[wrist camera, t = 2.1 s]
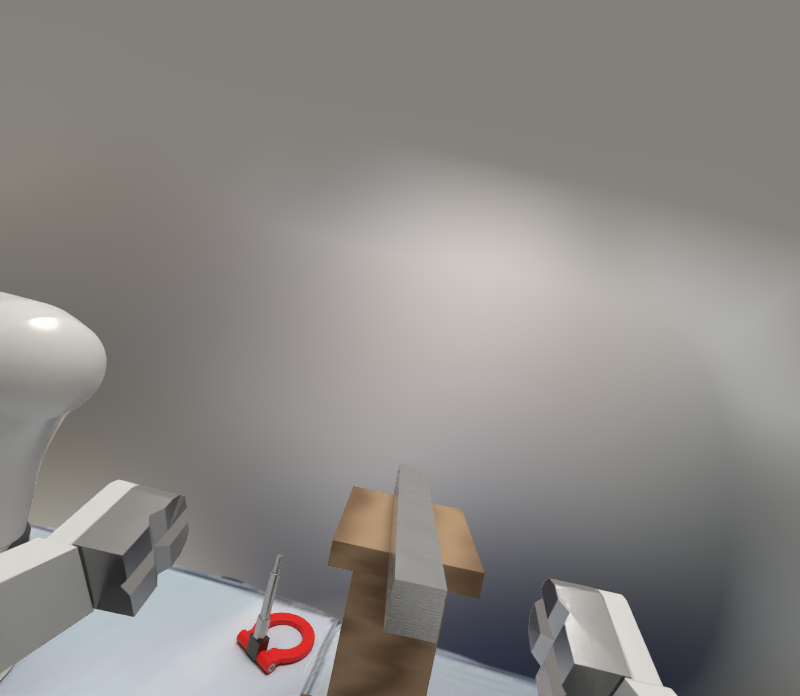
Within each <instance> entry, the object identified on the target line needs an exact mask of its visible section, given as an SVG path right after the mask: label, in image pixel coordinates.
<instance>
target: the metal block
mask: <svg viewBox="0 0 800 696" xmlns="http://www.w3.org/2000/svg"><path fill="white" fill-rule="evenodd" d="M446 595H447V585H446V580H445V574H444V568H443V563H442V557H441V551H440V546H439V540H438V534H437V529H436V523H435V517H434V512H433V506H432V501H431V495H430V490H429V483H428V478H427V472H426V470H425V469H421V468H417V467H412V466H407V465H402V464H400V466H399V470H398V475H397V480H396V485H395V490H394V502H393V515H392V528H391V541H390V554H389V567H388V580H387V593H386V606H385V619H384V632H387V633H392V634H396V635H401V636H405V637H410V638H414V639H419V640H423V641H428V642H433V643H437V638H438V633H439V628H440V623H441V619H442V614H443V609H444V604H445V600H446Z"/></svg>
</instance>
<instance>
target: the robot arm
mask: <svg viewBox="0 0 800 696" xmlns="http://www.w3.org/2000/svg"><path fill="white" fill-rule="evenodd" d="M105 370H106V354H105V350H104V347H103V345H102V343H101V341H100V340H99V339H98V337H97V336H96V335H95V334H94V333H93V332H92V331H91V330H90V329H89V328H87V327H86V326H85V325H84V324H82V323H81V322H80V321H78V320H77V319H76V318H74V317H73V316H71V315H70V314H68V313H67V312H65V311H63V310H62V309H59V308H57V307H54V306H52V305H49V304H46V303H42V302H38V301H35V300H31V299H27V298H23V297H19V296H16V295H12V294H7V293H3V292H0V680H1V679H2V678H3V677H4V676H5V675H6V674H7V673H8V672H9V670H10V669H11V668H12V666H13V665H14V664H15V663H17V662H18V661H20V660H21V659H23V658H24V657H26V656H27V655H29V654H30V653H32V652H33V651H35V650H36V649H38V648H39V647H41V646H42V645H44V644H45V643H47V642H48V641H50V640H51V639H53V638H54V637H56V636H57V635H59V634H60V633H62V632H63V631H65V630H66V629H68V628H69V627H71V626H72V625H74V624H75V623H77V622H78V621H80V620H81V619H83V618H84V617H86V616H87V615H88V614H90V613H91V612H93V608H94V609H99V610H103V611H108V612H113V613H117V614H122V615H127V616H132V617H134V616H135V615H136V614H137V612H138V611H139V610H140V608H141V607H142V606H143V604H144V603H145V602H146V600H147V599H148V597H149V596H150V595H151V593H152V592H153V591H154V589H155V588H156V587H157V575H158V574H159V573H161V572H163V571H164V570H166V569H168V568H170V567H171V566H172V565H173V564H174V562H175V561H176V559H177V558H178V557H179V555H180V553H181V551H182V549H183V547H184V545H185V542H186V540H187V535H188V522H187V520H186V519H185V518H184V516H183V515H182V513H183V512H184V510H185V509H186V508H187V506H186V499H185V496H181V495H178V494H174V493H170V492H166V491H162V490H158V489H155V488H150V487H147V486H143V485H139V484H134V483H130V482H126V481H122V480H117V481H114V482H112V483H110V484H108V485H107V486H106V487H105V488H104V489H103V490H101V491H100V492H99V493H98V494H97V495H96V496H94V497H93V498H92V499H91V500H90V501H89V502H87V503H86V504H85V505H84V506H83V507H82V508H81V509H79V510H78V511H77V512H76V513H75V514H74V515H72V516H71V517H70V518H69V519H68V520H67V521H66V522H64V523H63V524H62V525H61V526H60V527H59V528H57V529H56V530H55V531H54V532H53V533H52V534H50V535H49V536H48V537H47V538H46V539H44V538H39V537H38V538H36V539H33V540H31V541H30V530H31V527H30V524H29V522H28V516H29V512H30V507H31V503H32V499H33V494H34V490H35V486H36V481H37V477H38V473H39V468H40V466H41V463H42V460H43V457H44V454H45V452H46V450H47V448H48V445H49V444H50V442H51V440H52V438H53V436H54V434H55V433H56V431H57V429H58V428H59V426H60V424H61V423H62V421H63V419H64V418H65V416H66V415H67V414H68V413H69V412H70V411H72V410H74V409H75V408H77V407H79V406H80V405H82V404H83V403H84V402H85V401H87V400H88V399H89V398H90V397H91V396H92V395H93V394H94V392H95V391H96V390H97V389H98V387H99V385H100V384H101V382H102V380H103V377H104V374H105ZM541 591H542V596H543V599H541V600H539V601H537V602H535V603H534V606H533V608H532V611H531V613H530V621H529V640H530V647H531V653H532V654H533V656H534V657H535V658H536V660H537V661H538V663H539V664H540V666H541V667H540V670H539V671H538V673H537V675H536V677H535V678H536V684H537V690H538V695H539V696H677V695H676V694H675V693H674V691H673V690H672V689H670V688H667V687H663V685H662V683H661V681H660V678H659V676H658V674H657V671H656V669H655V667H654V664H653V662H652V659H651V657H650V655H649V652H648V650H647V647H646V645H645V643H644V640H643V638H642V636H641V633H640V631H639V629H638V626H637V624H636V621H635V619H634V617H633V614H632V612H631V610H630V607H629V605H628V603H627V601H626V599H625V598H624V597H623V596H622V595H619V594H616V593H611V592H606V591H603V590H598V589H594V588H592V587H587V586H582V585H577V584H572V583H568V582H563V581H559V580H554V579H548V580H546V581H545V582H544V584H543V586H542V588H541Z"/></svg>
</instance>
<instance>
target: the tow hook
mask: <svg viewBox="0 0 800 696" xmlns="http://www.w3.org/2000/svg"><path fill="white" fill-rule="evenodd" d="M282 557H283V555H282V554H278V555H277V556H276V560H275V565H274V569H273V570H272V571H271V574H270V578H269V582H268V586H267V590H266V594H265V598H264V602H263V606H262V610H261V613H260V614H259V616H258V618H257V622H256V624H255V625H254V627H253V628H252V629H251V630H249V631H246V630H242V631H241V632H240V633H239V634H238V636H237V641H238V642H239V643H240V644H241V645H242V646H243V647H244V649H245V650H246V652H247V653H248V655H249V656H250V657H251V658H252V659H253V660H254V661H255V662H256V663H258V664H259V665H260V666H261V667H262V668H263V669H264V671H265V672H266V673H267V674H269V673H271V672H272V671H273V670H274V669H275V667H276V665H278V664H280V663H282V664H285V663H292V662H295V661H298V660H301V659H302V658H304V657H305V656H306V655H307V654H308V653H309V652H310V651H311V649H312V646H313V644H314V639H315V634H314V631H313V628H312V627H311V625H310V624H309V623H308V622H307V621H306V620H305V619H303V618H301V617H299V616H297V615H294V614H291V613H274V614H270V613H271V609H272V605H273V601H274V597H275V593H276V588H277V584H278V580H279V576H280V571H279V570H280V566H281V562H282ZM278 624H285V625H290V626H293V627H295V628H296V629H297V630H299V631H300V633H301V634H302V637H303V640H302V642H301V643H300V644H299V645H298V646H296V647H294V648H291V649H277V648H272V649H270V650H269V651H267V647H268V643H269V639H270V638H269V637H268V636H267V632H268V628H269V627H271V626H273V625H278ZM266 651H267V652H266Z"/></svg>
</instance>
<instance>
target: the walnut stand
mask: <svg viewBox="0 0 800 696" xmlns="http://www.w3.org/2000/svg"><path fill="white" fill-rule="evenodd" d="M393 502H394V495H391V494H386V493H382V492H377V491H372V490H368V489H363V488H359V487H353V489H352V492H351V494H350V497H349V500H348V502H347V505H346V507H345V510H344V513H343V515H342V518H341V520H340V523H339V526H338V528H337V531H336V534H335V536H334V539H333V542H332V547H331V552H330V557H329V561H328V566H332V567H337V568H342V569H346V570H351V571H353V574H352V579H351V584H350V588H349V593H348V598H347V603H346V608H345V612H344V617H343V622H342V627H341V631H340V636H339V641H338V646H337V650H336V655H335V660H334V665H333V670H332V674H331V679H330V684H329V689H328V693H327V696H426V695H427V690H428V685H429V680H430V675H431V671H432V666H433V661H434V656H435V651H436V647H437V643H433V642H428V641H423V640H419V639H414V638H410V637H405V636H401V635H396V634H392V633H387V632H384V619H385V606H386V593H387V580H388V567H389V554H390V541H391V528H392V515H393ZM432 506H433V512H434V517H435V523H436V529H437V534H438V540H439V546H440V551H441V557H442V563H443V568H444V574H445V580H446V585H447V594H448V592H452V593H456V594H461V595H465V596H470V597H474V598H480V592H481V588H482V583H483V578H484V574H485V573H484V570H483V567H482V565H481V562H480V559H479V556H478V553H477V551H476V548H475V545H474V542H473V539H472V537H471V534H470V531H469V528H468V526H467V523H466V520H465V517H464V514H463V512H462V510H460V509H456V508H451V507H447V506H442V505H438V504H433V503H432ZM446 599H447V595H446ZM445 604H446V600H445ZM445 604H444V608H445ZM443 613H444V609H443ZM442 617H443V614H442ZM441 623H442V619H441ZM441 623H440V627H441ZM439 632H440V628H439ZM438 637H439V633H438ZM437 641H438V638H437ZM301 696H310V695H306V694H301Z"/></svg>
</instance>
